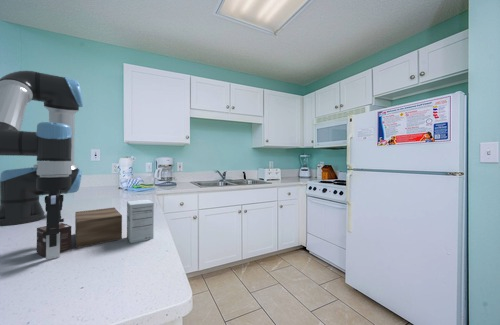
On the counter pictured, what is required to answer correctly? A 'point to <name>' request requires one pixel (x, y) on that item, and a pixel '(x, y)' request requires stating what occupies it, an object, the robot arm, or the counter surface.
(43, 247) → the box
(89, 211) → the walnut stand
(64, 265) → the counter surface
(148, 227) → the supplement box
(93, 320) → the counter surface
